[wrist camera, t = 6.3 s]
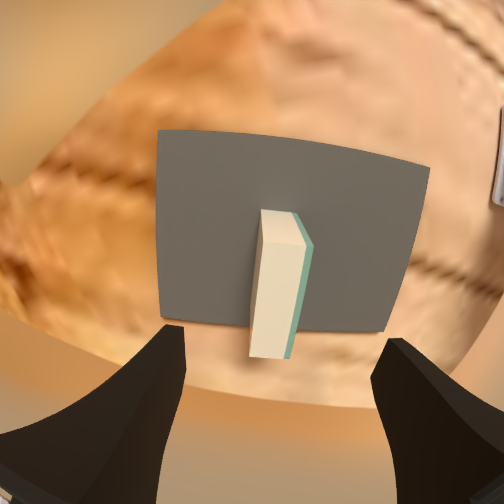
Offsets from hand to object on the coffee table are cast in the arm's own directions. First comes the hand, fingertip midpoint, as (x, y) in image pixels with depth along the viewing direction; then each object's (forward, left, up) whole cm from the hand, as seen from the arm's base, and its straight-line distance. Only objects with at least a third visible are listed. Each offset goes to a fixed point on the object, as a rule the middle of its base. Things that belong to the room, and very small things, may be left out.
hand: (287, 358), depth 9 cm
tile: (0, 0, -8) cm, 8 cm away
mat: (-1, -1, -9) cm, 9 cm away
